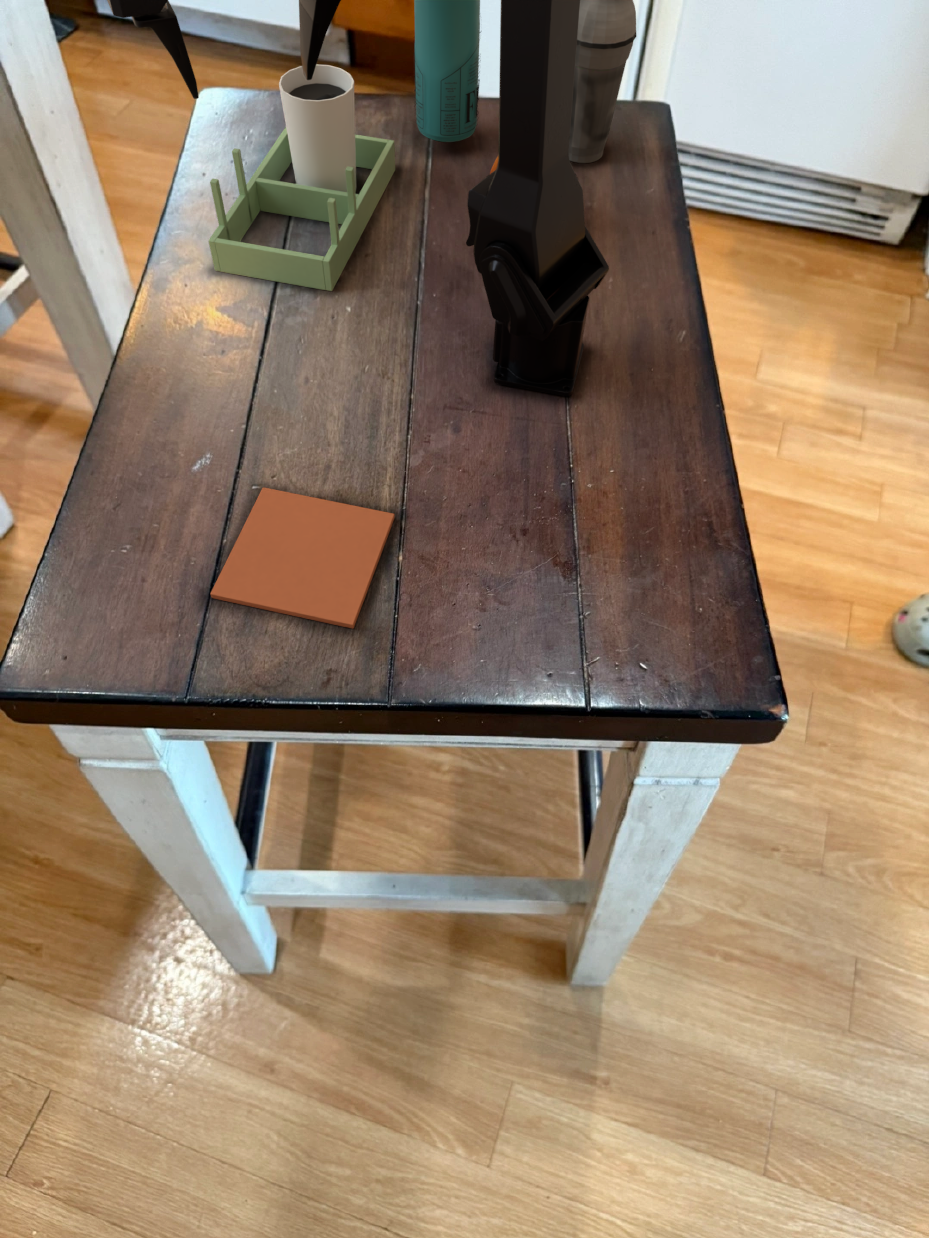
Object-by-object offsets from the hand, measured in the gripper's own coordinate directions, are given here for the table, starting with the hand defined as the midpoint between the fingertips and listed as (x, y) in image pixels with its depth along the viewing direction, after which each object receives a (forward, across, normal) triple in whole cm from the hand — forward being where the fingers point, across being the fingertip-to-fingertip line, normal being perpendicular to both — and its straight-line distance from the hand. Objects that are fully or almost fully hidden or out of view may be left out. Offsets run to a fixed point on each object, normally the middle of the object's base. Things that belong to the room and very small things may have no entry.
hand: (252, 87), depth 74 cm
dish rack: (+14, -4, -3) cm, 15 cm away
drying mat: (+14, +8, +36) cm, 40 cm away
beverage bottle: (+14, -21, -11) cm, 28 cm away
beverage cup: (+14, -34, -5) cm, 37 cm away
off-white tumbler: (+14, -7, -7) cm, 17 cm away
